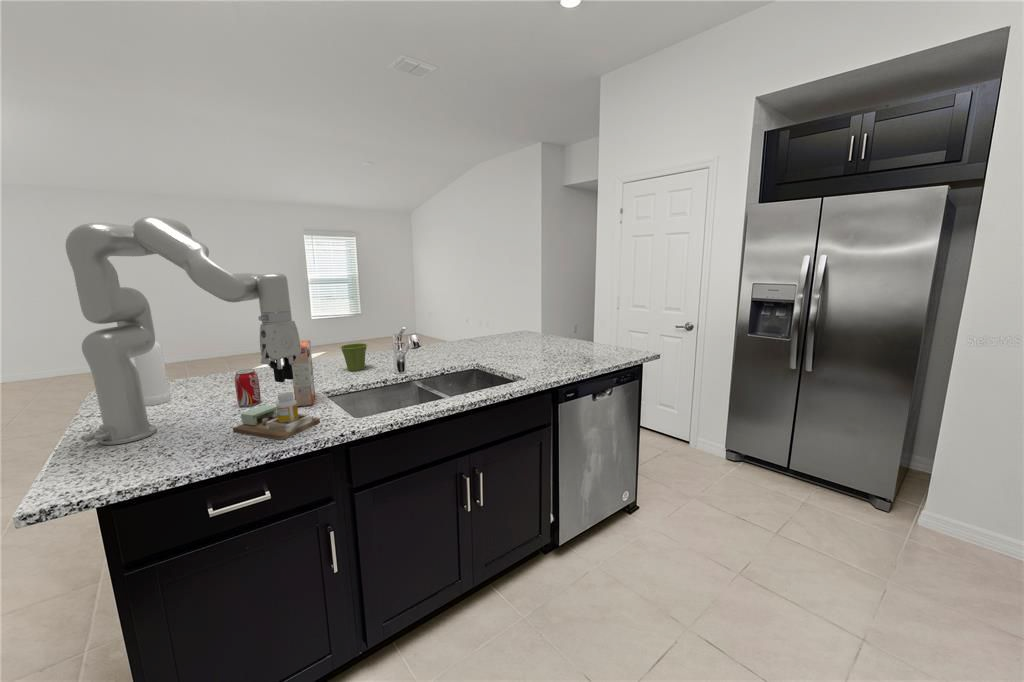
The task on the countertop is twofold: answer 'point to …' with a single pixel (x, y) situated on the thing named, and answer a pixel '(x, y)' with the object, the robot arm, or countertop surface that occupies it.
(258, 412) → the block
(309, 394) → the cracker box
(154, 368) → the bottle
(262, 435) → the board
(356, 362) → the plant pot
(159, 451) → the countertop surface
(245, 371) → the soda can
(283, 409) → the supplement bottle
